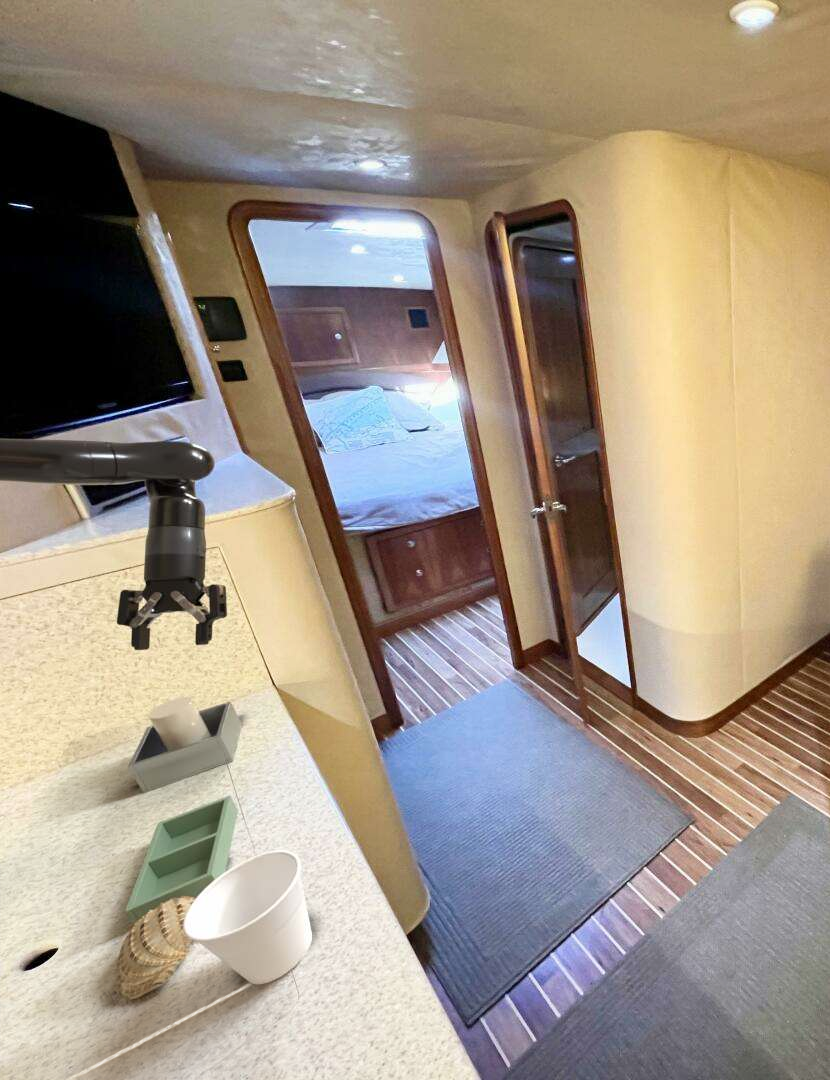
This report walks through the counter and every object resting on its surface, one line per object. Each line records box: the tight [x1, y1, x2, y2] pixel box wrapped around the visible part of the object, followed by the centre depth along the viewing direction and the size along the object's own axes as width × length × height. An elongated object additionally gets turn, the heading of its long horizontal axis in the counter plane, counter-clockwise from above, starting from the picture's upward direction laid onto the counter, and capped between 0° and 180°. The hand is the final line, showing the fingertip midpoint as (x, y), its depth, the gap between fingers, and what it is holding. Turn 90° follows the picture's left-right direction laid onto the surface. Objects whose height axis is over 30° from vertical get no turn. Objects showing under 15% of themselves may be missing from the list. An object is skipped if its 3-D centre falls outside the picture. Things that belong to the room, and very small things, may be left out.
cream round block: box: [148, 696, 212, 752], centre depth 91 cm, size 5×5×10 cm
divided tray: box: [124, 795, 239, 926], centre depth 72 cm, size 8×15×4 cm, turn 34°
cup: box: [183, 849, 313, 985], centre depth 59 cm, size 10×10×11 cm
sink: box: [127, 701, 243, 794], centre depth 92 cm, size 11×11×6 cm
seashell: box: [116, 896, 196, 1002], centre depth 61 cm, size 8×6×10 cm
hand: (172, 647), depth 92 cm, fingers open, 8 cm apart
